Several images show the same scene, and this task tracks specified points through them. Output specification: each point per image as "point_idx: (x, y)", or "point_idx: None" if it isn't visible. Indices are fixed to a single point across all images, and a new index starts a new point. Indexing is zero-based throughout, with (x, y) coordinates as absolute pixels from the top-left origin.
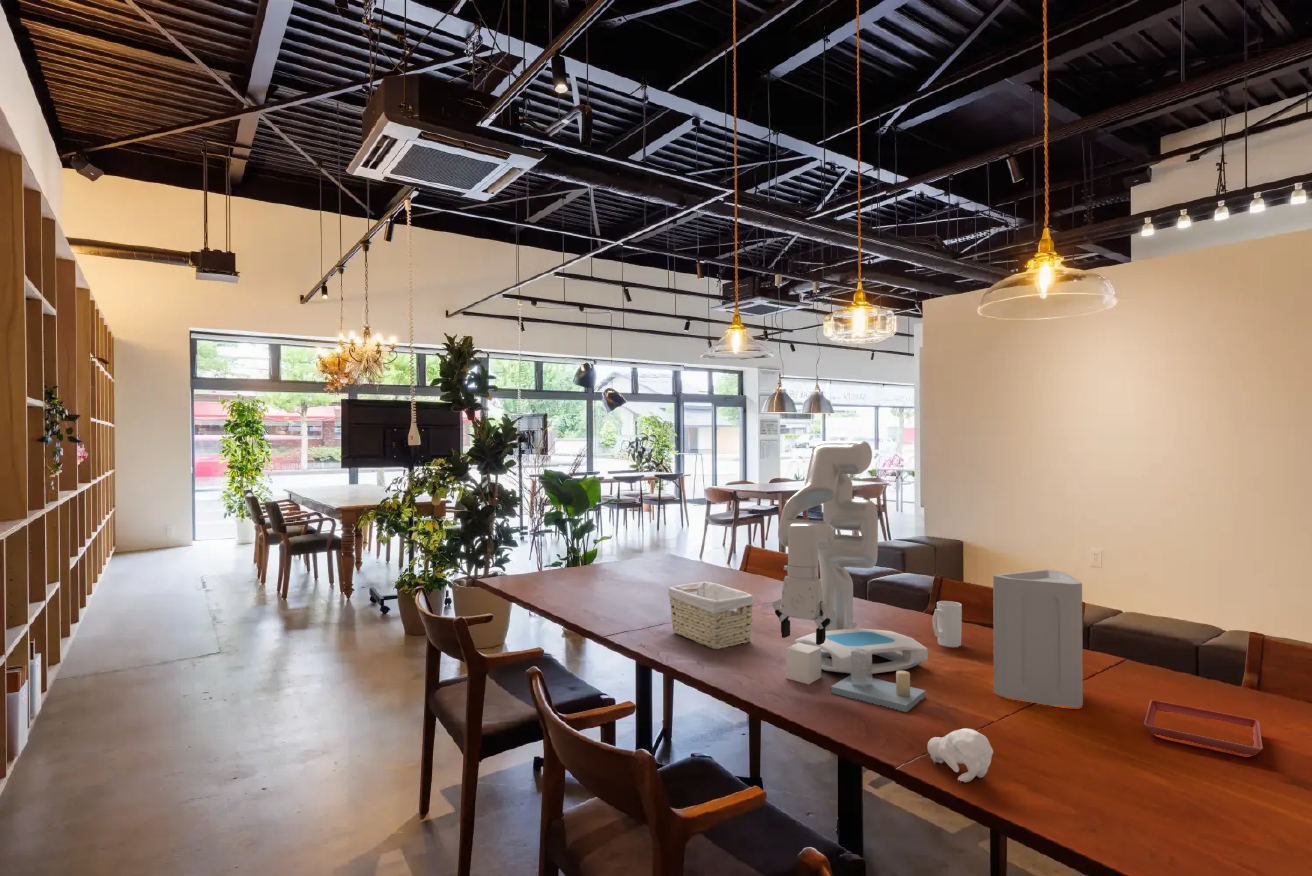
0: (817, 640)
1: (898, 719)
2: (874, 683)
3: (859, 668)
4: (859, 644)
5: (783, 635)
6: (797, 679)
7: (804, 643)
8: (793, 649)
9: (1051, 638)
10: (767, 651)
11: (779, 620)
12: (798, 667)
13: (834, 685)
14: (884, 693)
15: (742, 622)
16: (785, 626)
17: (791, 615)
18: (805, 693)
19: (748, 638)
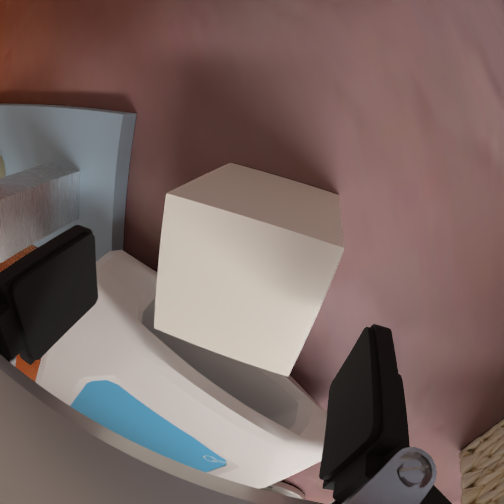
0: (64, 236)
1: (5, 56)
2: None
3: (15, 181)
4: (99, 400)
5: (376, 336)
6: (282, 179)
7: (293, 431)
8: (285, 239)
9: None
10: (423, 422)
11: (428, 458)
12: (266, 189)
13: (116, 132)
14: (16, 151)
15: (490, 482)
16: (361, 412)
17: (200, 502)
18: (215, 57)
19: (464, 456)
